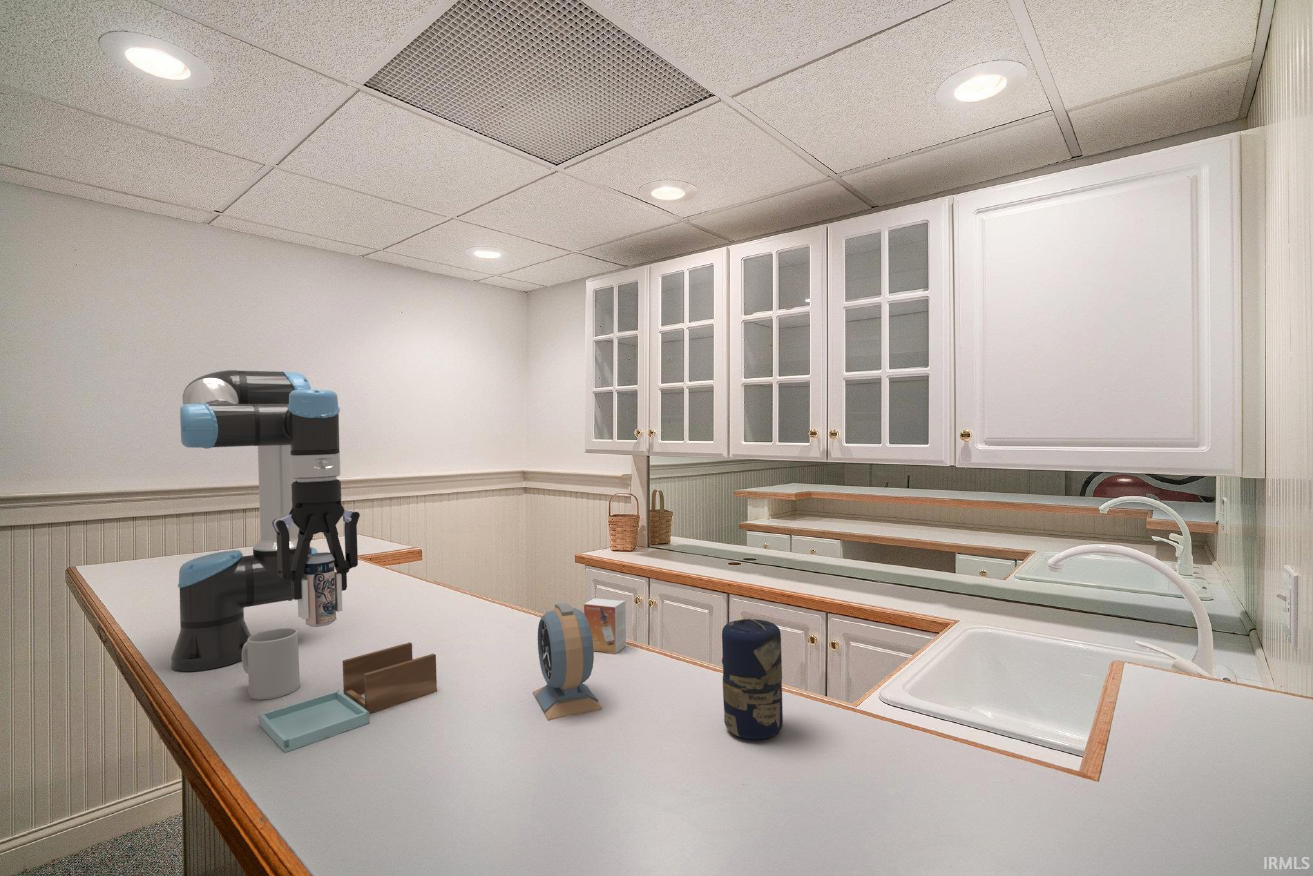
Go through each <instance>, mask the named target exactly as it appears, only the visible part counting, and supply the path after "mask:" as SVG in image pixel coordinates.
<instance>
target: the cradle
mask: <svg viewBox="0 0 1313 876" xmlns="http://www.w3.org/2000/svg"><path fill="white" fill-rule="evenodd" d="M437 681H438V680H437V654H436V653H431V654H428V655H424V656H421V657H417V658H413V643H412V642H405V643H402V644H398V645H394V646H391V647H387V648H382V649H380V650H376V651H372V652H369V653H366V654H362V655H358V656H354V657H350V658H348V659H343V660H342V683H343V685H342V688H343V694H345V695H346V696H347V697H349V698H350V699H352V700H353V701H354V702H356V703H357V704H359V705H360V706H361V707H363V708H364V709H366V710H367V711H368V712H370V714H375V713H376V712H380V711H382V710H386V709H388V708H392V707H394V706H397V705H400V704H403V703H406V702H409V701H411V700H412V701H413V700H414V699H417V698H420V697H423V696H427V695H430V694H432V693H436V692H437V691H438V684H437V683H438V682H437ZM363 694H364V697H363V696H361V695H363Z"/></svg>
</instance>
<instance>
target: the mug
mask: <svg viewBox="0 0 1313 876" xmlns="http://www.w3.org/2000/svg"><path fill="white" fill-rule="evenodd" d="M299 652H300V651H299V632H298V630H297V629H296V628H292V627H291V628H290V627H284V628H283V627H281V628H273V629H267V630H264V631H260V632H257V633H255V634H252V635H251V636H250V637H249V638H248V640H247V642H246V643H245V644H244V645H243V648H242V660H241V664H242V668H243V670H244V672H245V673H246V674H248V678H247V679H248V697H249V698H250V699H253V700H259V701H261V700H263V701H264V700H265V701H266V700H271V699H277V698H280V697H283V696H284V697H285V696H287V695H289V694H292V693H294V692H295V691H297V690H298V689H299V688H300V686H301V679H300V657H299V654H300V653H299Z"/></svg>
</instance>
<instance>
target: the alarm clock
mask: <svg viewBox="0 0 1313 876" xmlns="http://www.w3.org/2000/svg"><path fill="white" fill-rule="evenodd" d="M537 652H538V660H539V665H540V670H541V674H542V677H543V679H544V681H545V683H546V685H544V686H542V687H540V688H539V689H536V690H535V691H532V695H533V697H534V698H535V700H536V702H537V705H538V706H539V707H540V709H541V711H542V713H543V715H544V717H545V718H546V720H547V721H552V720H557V719H562V718H567V717H571V716H576V715H580V714H586V713H591V712H594V711H595V712H596V711H600V710H603V707H602V705H601V704H600V703H599V699H598V698H597V697H596V696H595V694H594V693H593V692H592V691H591V690H590V688H589V687H588V685H587V684H585V682H586V681H587V680H588V679H590V677H591V675H592V672H593V668H594V661H595V660H594V659H595V657H594V656H595V651H594V648H593V639H592V633H591V629H590V626H589V623H588V620H587V618H586V616H585V614H584V611H582V610H580V609H578V608H576V607H572V606H571V605H570V603H568V602H564V603H563V602H561V603H556V604H554V608H553V609H551V610H550V611H547V612H546V613H544V614H543V615H542V616H541V617H540V620H539V622H538V627H537Z"/></svg>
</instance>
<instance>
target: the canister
mask: <svg viewBox="0 0 1313 876" xmlns="http://www.w3.org/2000/svg"><path fill="white" fill-rule="evenodd" d="M721 643H722V647H721V648H722V657H721V664H722V696H723V711H724V713H723V714H724V715H723V720H724V725H725V727H726V729H727V730H728V731H729V733H731V734H733V735H734V736H737V737H739V738H743V739H748V740H762V739H768V738H772V737H774V736H775V735H777V734H779V732H780V731H781V729H782V728H783V724H784V719H783V718H784V715H783V712H784V711H783V666H782V665H783V664H782V663H783V660H782V634H781V630H780V628H779V626H778V625H776V624H775V623H774V622H770V621H768V620H763V619H754V618H753V619H752V618H742V619H737V620H736V619H735V620H732V621H730V622H727V623H726V624H725V625H724V626H723V627H722V630H721Z"/></svg>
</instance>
